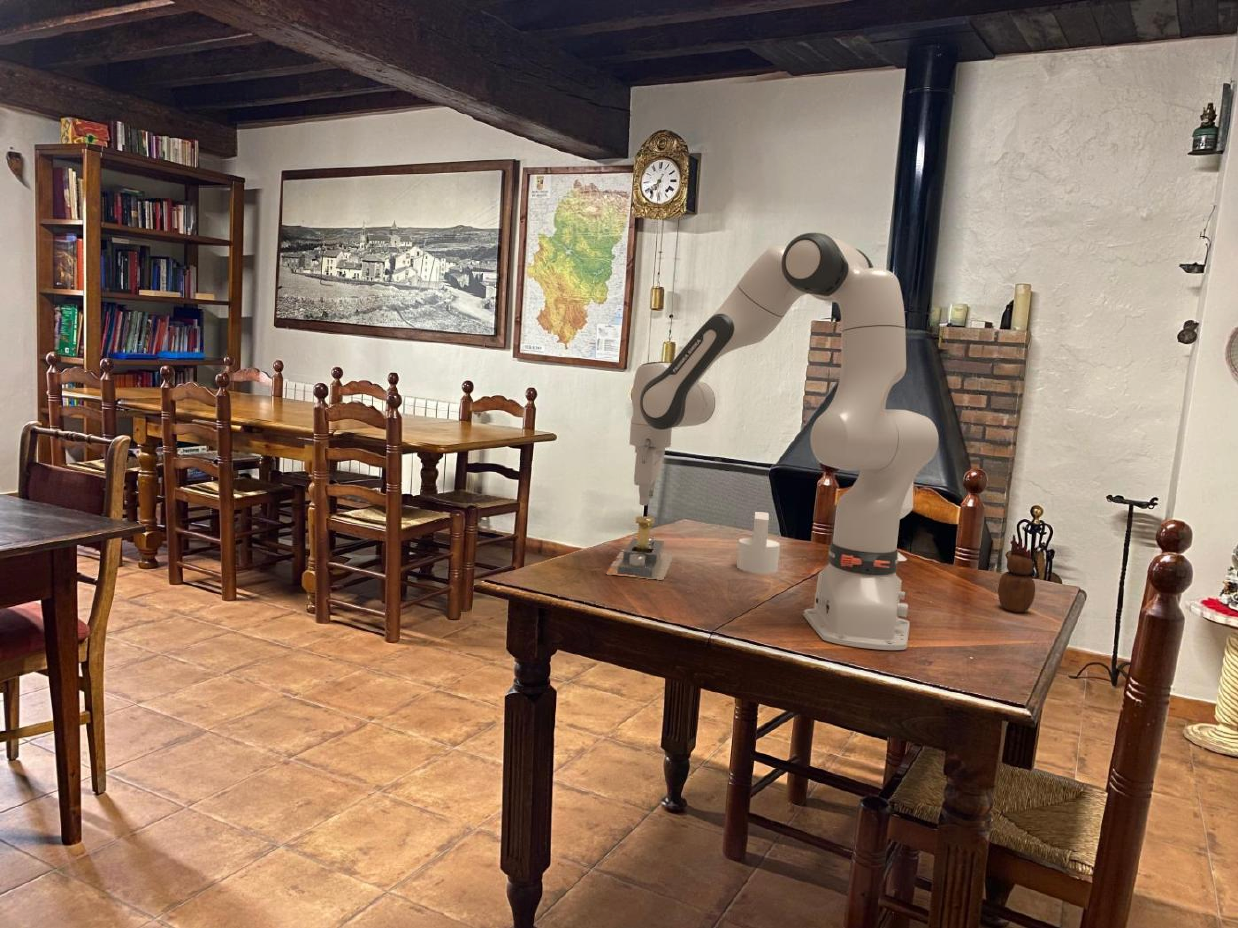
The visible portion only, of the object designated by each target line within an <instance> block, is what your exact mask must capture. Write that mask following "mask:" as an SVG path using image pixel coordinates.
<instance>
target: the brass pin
mask: <svg viewBox="0 0 1238 928" xmlns="http://www.w3.org/2000/svg"><path fill="white" fill-rule="evenodd" d="M635 523H636V524H638V527H637V529H638V531H637V551H636V552H646V553H648V551H649V539H650V537H651V526H652V525H654V524H655V518H654V517H651V516H644V515H643V516H641V515H640V516H636V517H635Z"/></svg>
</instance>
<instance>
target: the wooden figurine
mask: <svg viewBox="0 0 1238 928" xmlns="http://www.w3.org/2000/svg"><path fill="white" fill-rule="evenodd" d="M1017 544H1018V545H1017ZM1033 562H1034V561H1033V560H1032V554H1031V549H1028V548H1027V544H1023V538H1020V539H1019V543H1017V540H1016V534H1013V535H1012V540H1011V547H1010V555H1009V556H1008V558H1007V561H1006V570H1007V571H1005V572H1004V573H1003V574H1002V575H1001V576H1000V578H999V583H998V587H997V591H998V592H997V593H998V600H999V603H1000V606H1001V607H1002V608H1003V609H1005V610H1007V611H1008V610H1009V612H1012V611H1013V612H1012V613H1018V612H1020V613H1025V612H1027V611H1029V609H1030V608H1031V606H1032V604H1033V602H1034V598H1035V596H1036V584H1035V581H1034V578H1032V577H1031V576H1030V574H1031V573H1032V571H1033V568H1034V563H1033Z"/></svg>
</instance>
